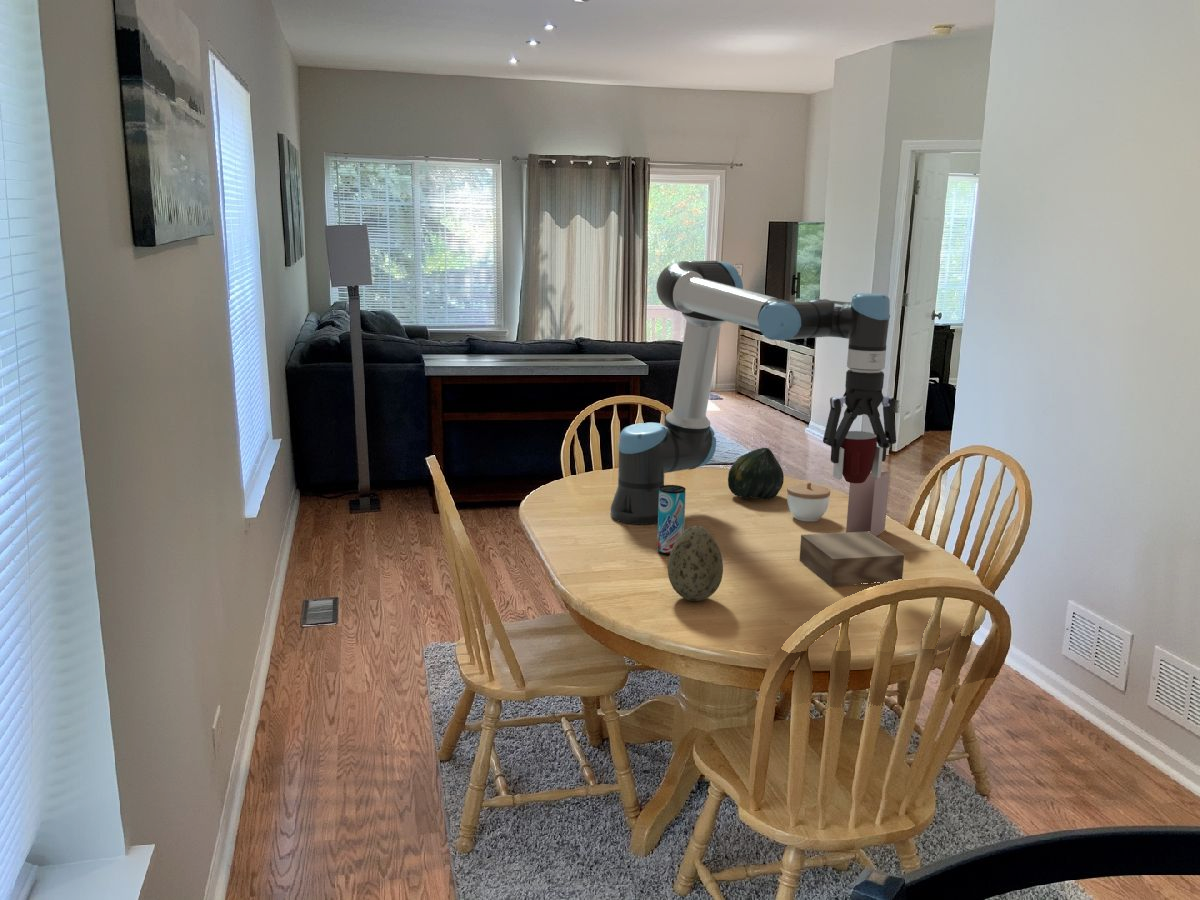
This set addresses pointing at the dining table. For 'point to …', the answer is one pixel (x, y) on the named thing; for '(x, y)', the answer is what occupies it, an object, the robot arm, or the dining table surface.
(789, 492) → the lidded jar
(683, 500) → the beverage can
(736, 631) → the dining table surface
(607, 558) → the dining table surface
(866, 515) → the greeting card
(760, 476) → the squash
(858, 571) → the walnut block
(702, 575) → the decorative egg
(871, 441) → the mug
